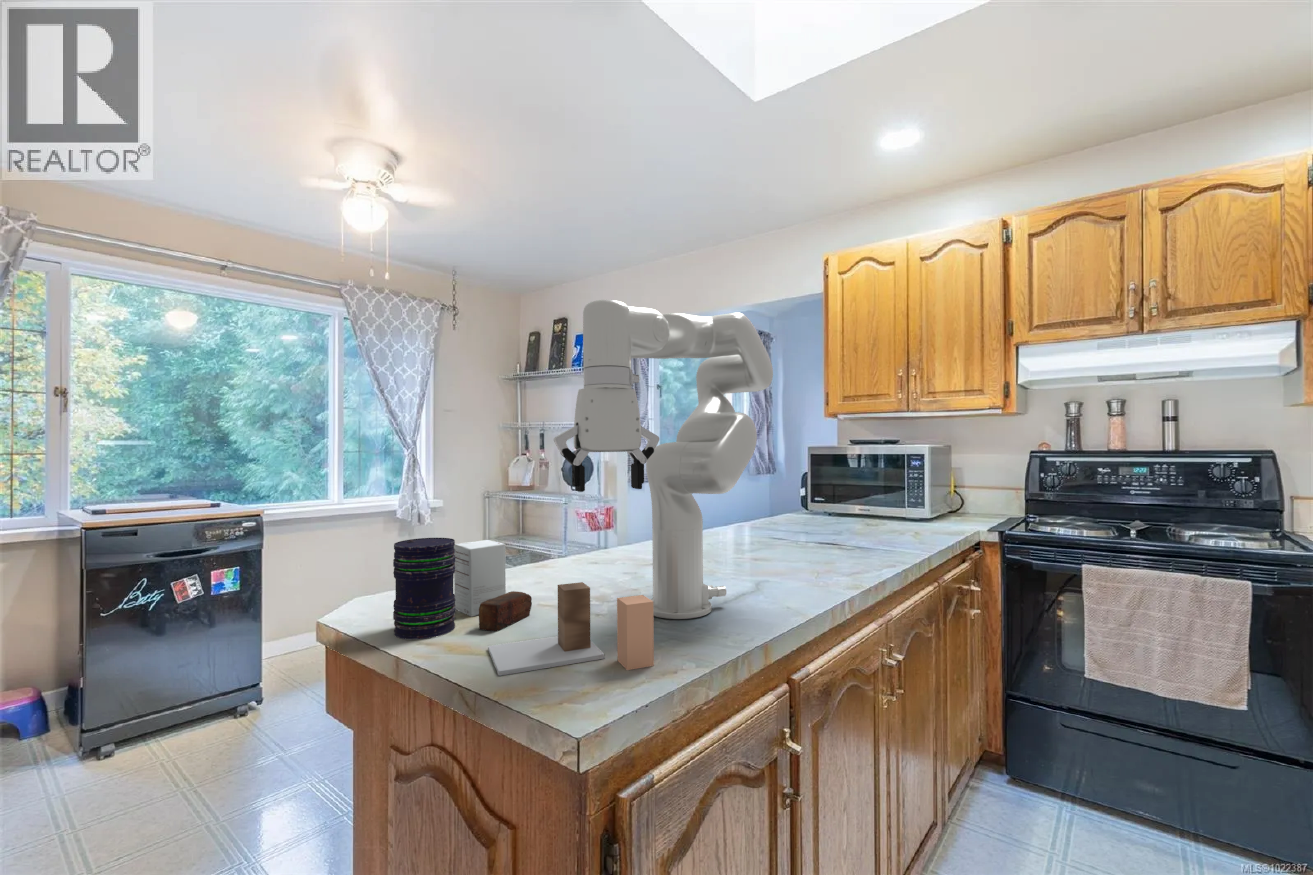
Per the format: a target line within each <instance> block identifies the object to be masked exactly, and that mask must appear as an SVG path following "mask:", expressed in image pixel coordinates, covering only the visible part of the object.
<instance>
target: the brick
mask: <svg viewBox="0 0 1313 875" xmlns="http://www.w3.org/2000/svg"><path fill="white" fill-rule="evenodd" d="M532 603H533V602H532V596H531V594H528V593H526V592H523V591H515V590H513V591H512V590H511V591H508V592H506V594H503V595H501V596H498V597H496V598H492V599H489V600H486V601H484V602H482V603H481V604H480V607H479V615H478V626H479V627H478V629H479V630H480V631H489V632H499V631H501V630H503V629H505V628H507V627H510V626H511V625H513V624H516V623H517V622H519V621H522V620H523V619H526V618H528V617H529V616H531V610H532V606H533V604H532Z"/></svg>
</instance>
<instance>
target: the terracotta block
mask: <svg viewBox="0 0 1313 875" xmlns="http://www.w3.org/2000/svg"><path fill="white" fill-rule="evenodd" d="M616 616H617V619H616V622H617V623H616V625H617V626H616V629H617V630H616V632H617V633H616V638H617V639H616V642H617V645H616V646H617V650H616V651H617V655H616V656H617V657H616V658H617V661H618V662H619V664H620V665H622V666H623V667H624V669H625V670H626V671H629V670H631V671H632V670H637V669H642V668H647V667H648V668H649V667H654V666H655V664H654V663H655V660H654V659H655V658H654V655H655V652H654V651H655V650H654V648H655V647H654V646H655V645H654V644H655V640H654V639H655V638H654V637H655V634H654V627H655V626H654V625H655V624H654V622H655V620H654V616H653V601H652V600H650V598H648V597H647V596H645V595H644V594H639V595H630V596H623V597H617V598H616Z"/></svg>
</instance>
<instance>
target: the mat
mask: <svg viewBox="0 0 1313 875" xmlns="http://www.w3.org/2000/svg"><path fill="white" fill-rule="evenodd" d="M487 650H488V651H487V652H488V653H489V655H490V658H491V661H492V662H493V663H492V664H493V665H494V667H495V670H496V673H497V675H498V676H499V677H500V676H505V675H513V674H517V673H524V672H530V671H531V672H532V671H536V670H541V669H542V670H543V669H548V668H553V667H560V666H566V665H567V666H568V665H573V664H578V663H585V662H590V661H597V660H603V659H605V654H604V652H603V651H602V650H601V649H600V648H599V647H598V646H597V645H596V644H595V643H594V642H593V641H592V640H591V648H585V649H579V650H572V651H566V652H564V650H563V649H562V648H561V647H560V645H559V644H558V635H555V636H554V635H553V636H547V637H541V638H534V639H525V640H519V641H512V642H506V643H505V642H504V643H499V644H492V645H487Z"/></svg>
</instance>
